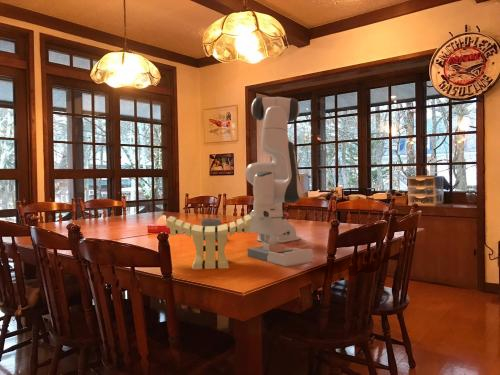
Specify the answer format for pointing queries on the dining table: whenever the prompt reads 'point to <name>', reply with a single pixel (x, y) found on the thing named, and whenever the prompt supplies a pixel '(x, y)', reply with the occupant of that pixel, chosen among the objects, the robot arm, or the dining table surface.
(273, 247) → the tile terracotta
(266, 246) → the tile cream
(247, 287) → the dining table surface
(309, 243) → the dining table surface
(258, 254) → the board
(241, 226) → the slatted curved stool
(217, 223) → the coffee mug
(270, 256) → the box
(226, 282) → the dining table surface
